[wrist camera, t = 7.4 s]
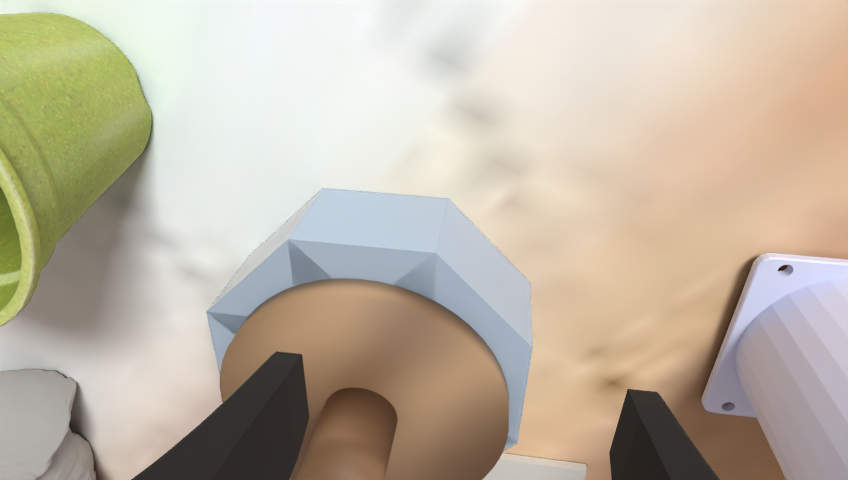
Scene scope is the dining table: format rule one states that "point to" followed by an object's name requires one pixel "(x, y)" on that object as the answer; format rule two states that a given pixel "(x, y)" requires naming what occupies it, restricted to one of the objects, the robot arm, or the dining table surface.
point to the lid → (380, 382)
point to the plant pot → (58, 137)
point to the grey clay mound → (40, 428)
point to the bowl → (392, 271)
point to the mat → (535, 469)
